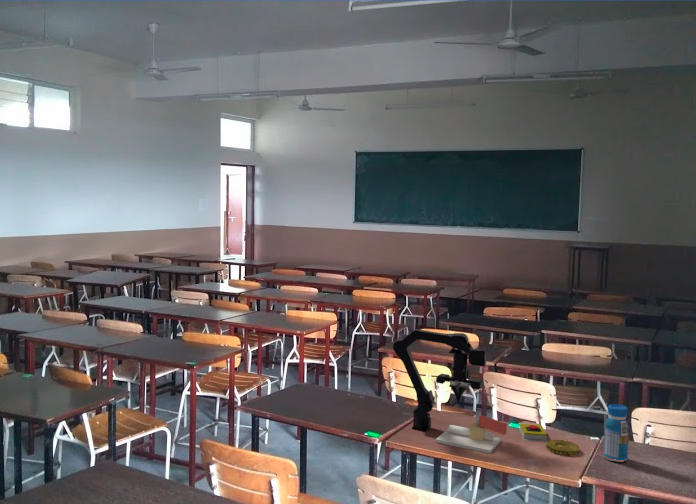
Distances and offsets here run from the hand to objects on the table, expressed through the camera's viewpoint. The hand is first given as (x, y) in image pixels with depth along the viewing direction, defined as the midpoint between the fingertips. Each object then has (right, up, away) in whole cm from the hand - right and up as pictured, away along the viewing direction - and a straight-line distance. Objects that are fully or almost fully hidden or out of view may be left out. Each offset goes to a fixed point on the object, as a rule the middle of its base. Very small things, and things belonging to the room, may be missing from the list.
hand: (459, 401), depth 259 cm
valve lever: (+10, -7, -13) cm, 18 cm away
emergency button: (+30, -14, 0) cm, 34 cm away
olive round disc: (+37, -15, -16) cm, 43 cm away
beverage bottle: (+54, -16, -24) cm, 62 cm away
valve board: (+2, -14, -10) cm, 17 cm away
